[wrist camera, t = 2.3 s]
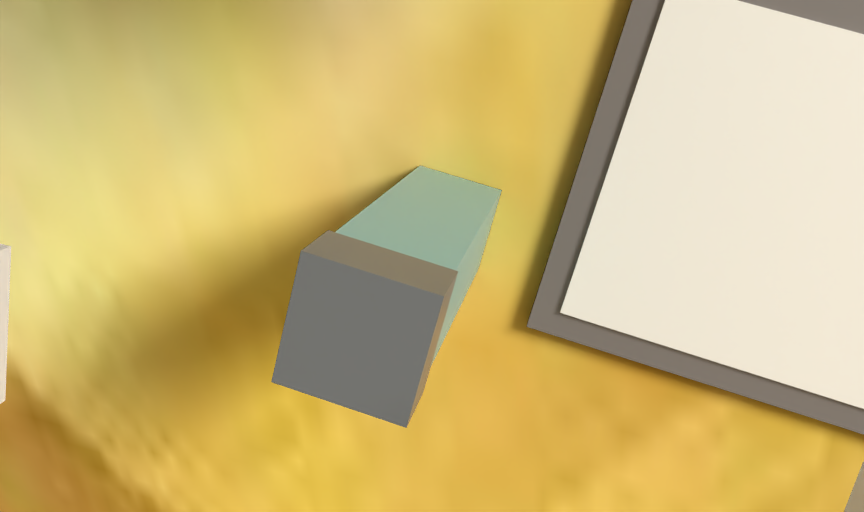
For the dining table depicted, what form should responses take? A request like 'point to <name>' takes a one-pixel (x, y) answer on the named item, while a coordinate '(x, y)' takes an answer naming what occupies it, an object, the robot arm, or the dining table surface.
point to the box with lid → (384, 294)
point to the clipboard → (725, 204)
